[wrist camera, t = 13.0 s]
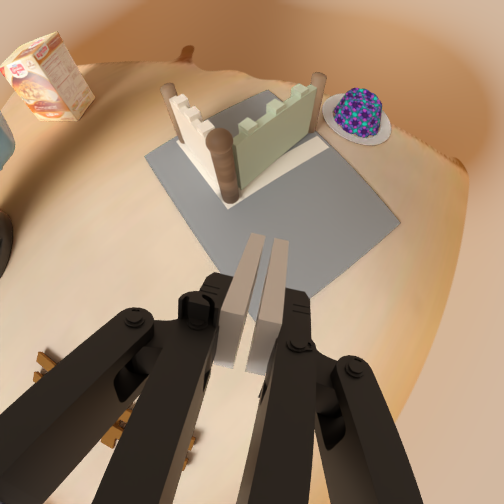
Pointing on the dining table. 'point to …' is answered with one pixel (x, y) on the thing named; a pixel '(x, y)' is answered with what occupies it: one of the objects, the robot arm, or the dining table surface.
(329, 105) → the pudding
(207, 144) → the hinge post
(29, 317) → the dining table surface
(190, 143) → the fixed panel
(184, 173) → the card
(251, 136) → the panel
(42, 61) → the coffeecake box
